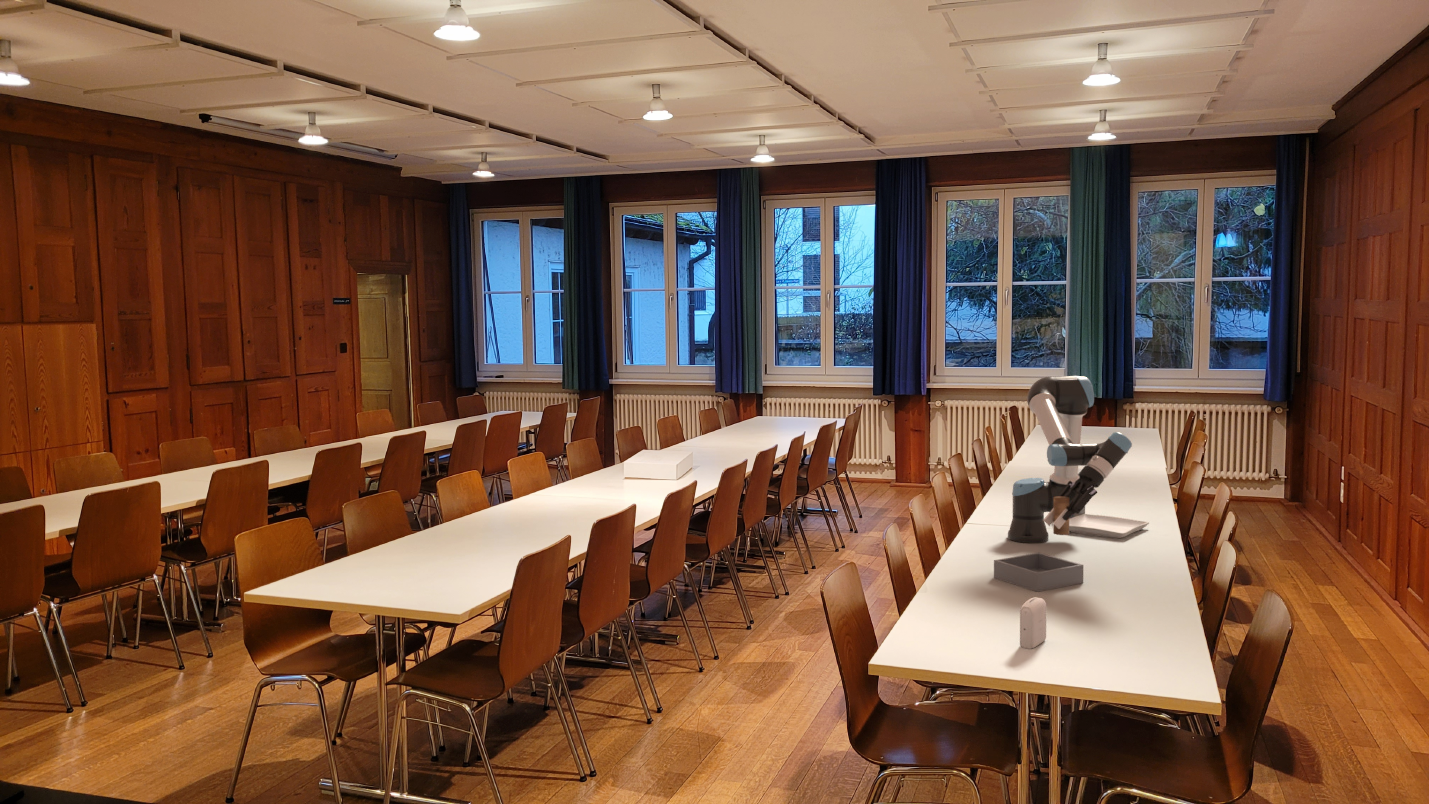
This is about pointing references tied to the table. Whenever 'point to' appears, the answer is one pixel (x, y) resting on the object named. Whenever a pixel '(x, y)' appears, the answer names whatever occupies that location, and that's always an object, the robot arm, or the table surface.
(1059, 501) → the walnut cylinder
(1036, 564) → the tote
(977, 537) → the table surface
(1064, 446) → the robot arm
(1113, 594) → the table surface
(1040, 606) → the photo printer
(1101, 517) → the square plate
